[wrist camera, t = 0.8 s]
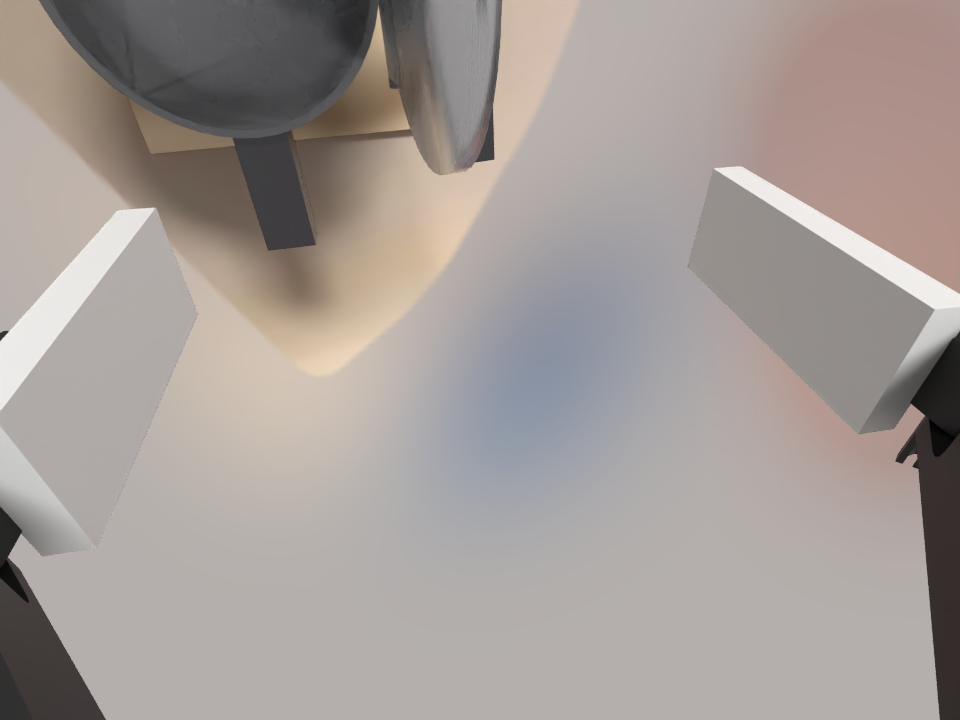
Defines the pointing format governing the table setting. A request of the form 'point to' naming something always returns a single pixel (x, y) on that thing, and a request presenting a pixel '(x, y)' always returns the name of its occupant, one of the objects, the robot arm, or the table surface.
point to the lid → (445, 75)
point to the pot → (232, 78)
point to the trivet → (353, 113)
